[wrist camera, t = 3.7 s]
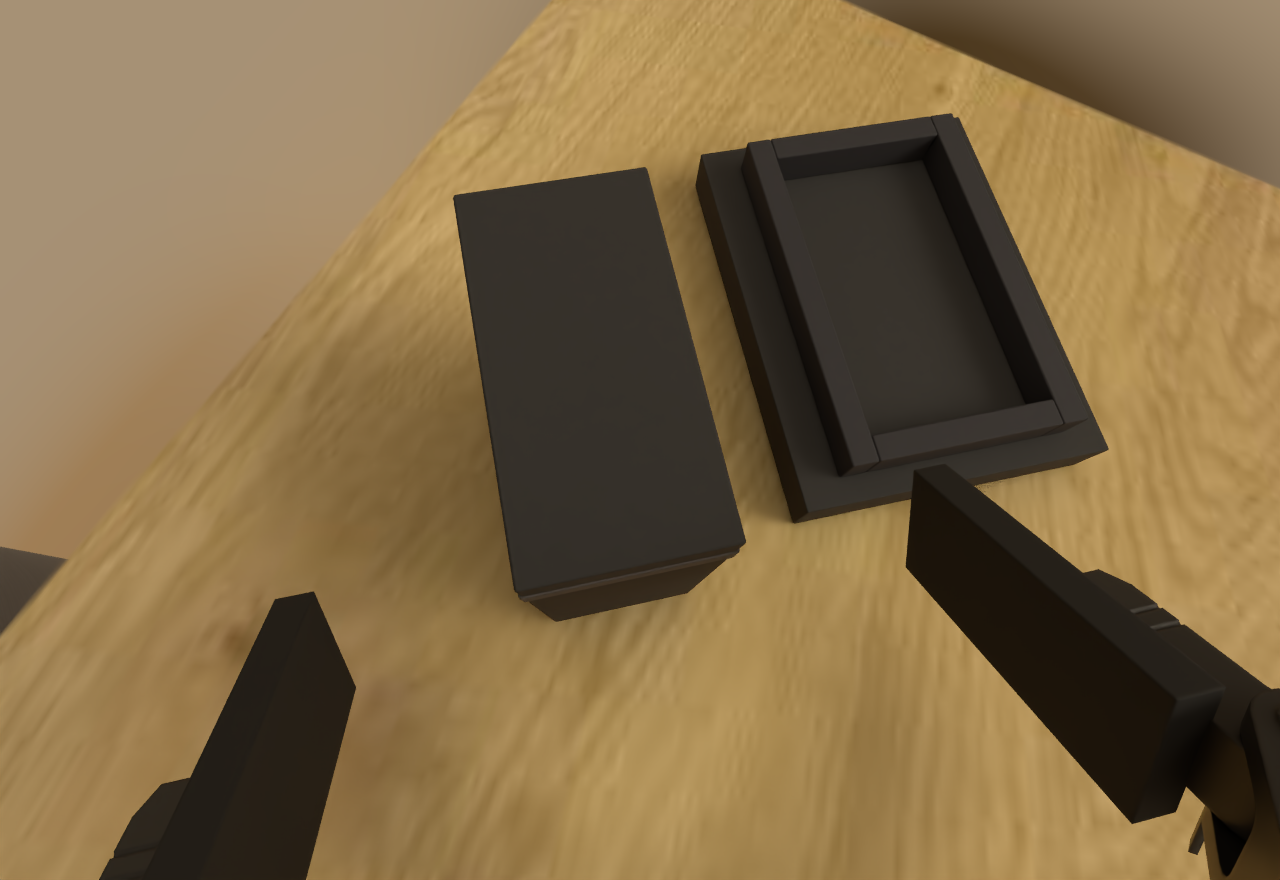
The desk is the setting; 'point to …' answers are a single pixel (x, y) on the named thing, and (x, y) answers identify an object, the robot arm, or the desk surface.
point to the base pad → (887, 315)
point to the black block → (593, 396)
